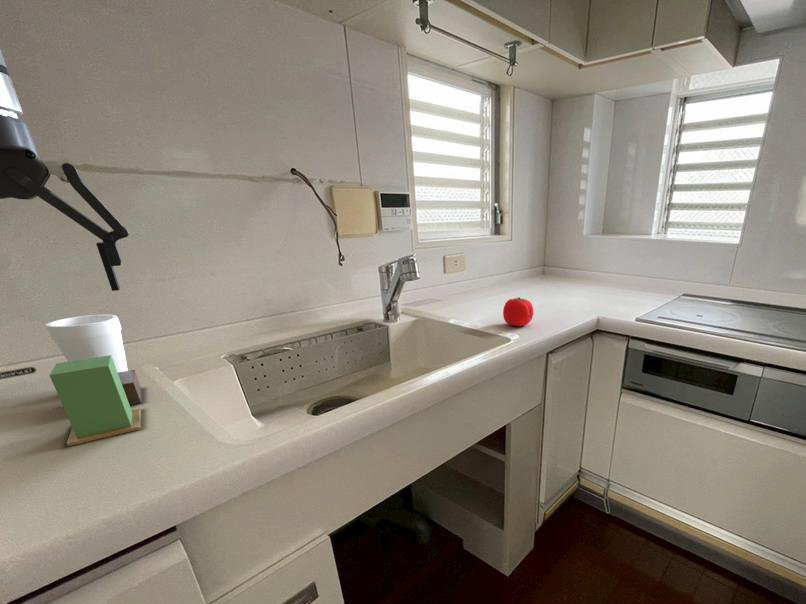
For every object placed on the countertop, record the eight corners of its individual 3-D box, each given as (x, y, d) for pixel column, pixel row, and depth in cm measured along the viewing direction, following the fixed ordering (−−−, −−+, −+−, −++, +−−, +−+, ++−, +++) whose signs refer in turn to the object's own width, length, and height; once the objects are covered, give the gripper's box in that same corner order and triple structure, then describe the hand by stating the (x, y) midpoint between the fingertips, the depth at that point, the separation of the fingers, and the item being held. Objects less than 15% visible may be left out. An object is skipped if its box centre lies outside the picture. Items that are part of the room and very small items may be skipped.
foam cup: (151, 379, 81) (129, 316, 76) (97, 398, 73) (69, 328, 68) (117, 374, 83) (94, 313, 78) (61, 392, 75) (32, 324, 70)
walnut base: (83, 400, 72) (74, 379, 70) (141, 389, 76) (134, 369, 75) (77, 416, 66) (68, 394, 65) (141, 403, 71) (133, 382, 69)
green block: (82, 423, 63) (56, 363, 59) (132, 412, 66) (111, 355, 63) (77, 438, 59) (49, 375, 55) (131, 426, 62) (108, 365, 58)
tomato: (506, 329, 118) (506, 301, 115) (499, 321, 127) (499, 294, 124) (536, 328, 120) (537, 300, 116) (527, 320, 129) (528, 294, 126)
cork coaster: (74, 425, 63) (73, 422, 63) (140, 411, 68) (139, 408, 68) (67, 446, 57) (66, 443, 57) (140, 429, 62) (139, 426, 62)
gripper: (-243, 83, 37) (-117, 310, 45) (118, 124, 52) (165, 289, 60) (-195, 99, 42) (-89, 299, 50) (120, 132, 57) (164, 282, 65)
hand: (49, 294), depth 55 cm, fingers open, 13 cm apart
